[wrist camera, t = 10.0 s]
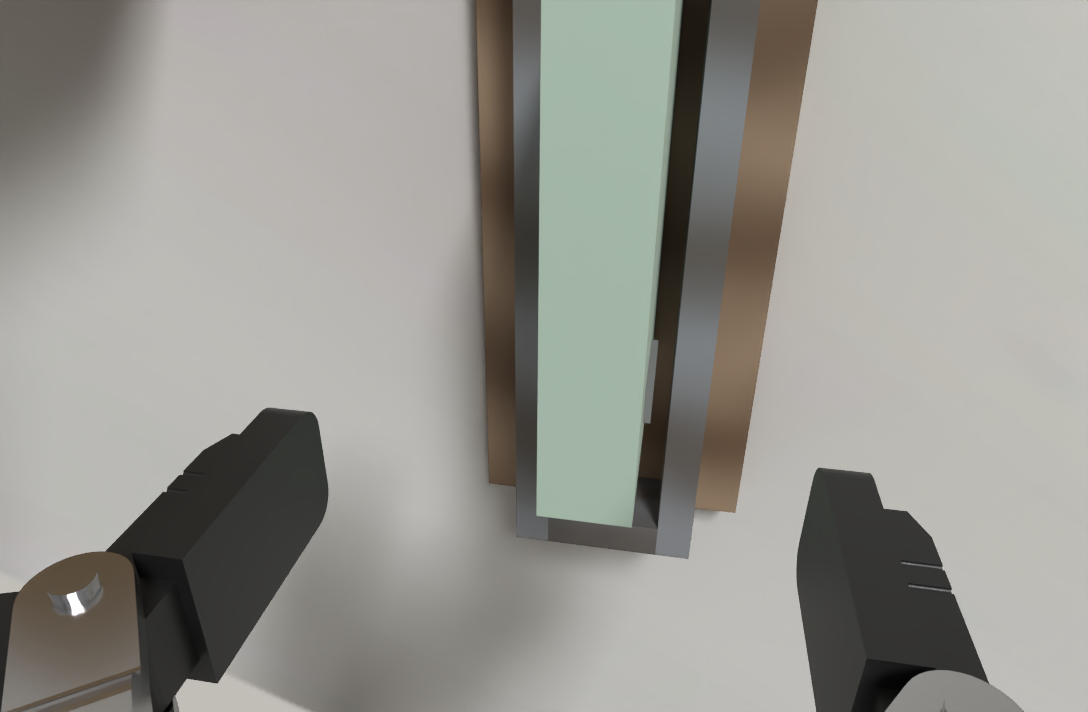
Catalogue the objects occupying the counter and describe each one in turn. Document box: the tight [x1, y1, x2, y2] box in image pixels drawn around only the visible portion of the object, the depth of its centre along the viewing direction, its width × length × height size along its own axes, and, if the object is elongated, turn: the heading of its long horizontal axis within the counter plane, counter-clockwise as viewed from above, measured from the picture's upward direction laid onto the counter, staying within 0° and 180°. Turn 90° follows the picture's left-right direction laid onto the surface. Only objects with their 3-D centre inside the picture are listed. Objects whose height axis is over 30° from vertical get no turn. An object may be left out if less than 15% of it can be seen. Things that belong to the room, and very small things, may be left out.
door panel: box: [536, 0, 683, 528], centre depth 21 cm, size 12×3×10 cm, turn 179°
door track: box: [476, 0, 818, 559], centre depth 25 cm, size 24×10×4 cm, turn 179°
